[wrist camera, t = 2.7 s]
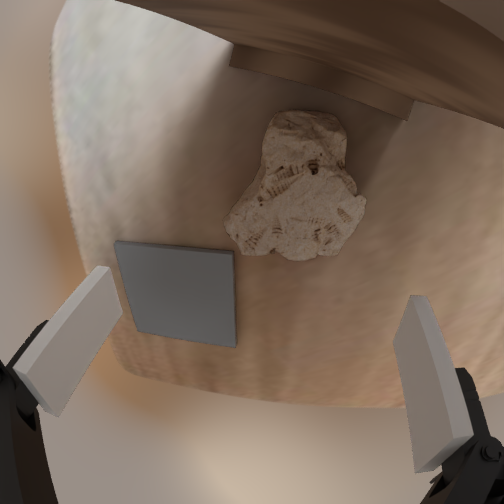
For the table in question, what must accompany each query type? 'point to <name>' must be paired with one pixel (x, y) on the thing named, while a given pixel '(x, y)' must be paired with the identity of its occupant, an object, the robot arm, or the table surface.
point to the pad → (180, 291)
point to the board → (366, 47)
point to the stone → (298, 191)
